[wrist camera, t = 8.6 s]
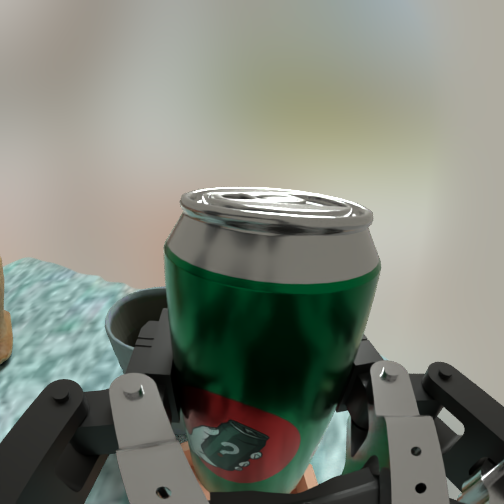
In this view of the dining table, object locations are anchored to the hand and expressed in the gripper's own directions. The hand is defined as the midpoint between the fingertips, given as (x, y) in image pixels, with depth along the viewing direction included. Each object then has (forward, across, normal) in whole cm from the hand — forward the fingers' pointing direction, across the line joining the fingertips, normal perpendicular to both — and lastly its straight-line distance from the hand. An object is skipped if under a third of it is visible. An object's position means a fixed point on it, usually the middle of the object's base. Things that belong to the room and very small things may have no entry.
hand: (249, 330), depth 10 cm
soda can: (-3, 0, +7) cm, 7 cm away
